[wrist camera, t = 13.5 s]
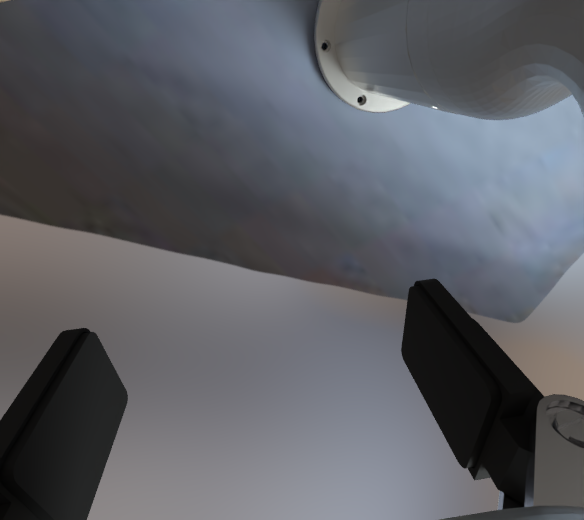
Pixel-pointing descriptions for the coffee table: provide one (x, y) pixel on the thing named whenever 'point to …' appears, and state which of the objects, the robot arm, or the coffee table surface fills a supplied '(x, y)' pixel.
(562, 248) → the coffee table surface
